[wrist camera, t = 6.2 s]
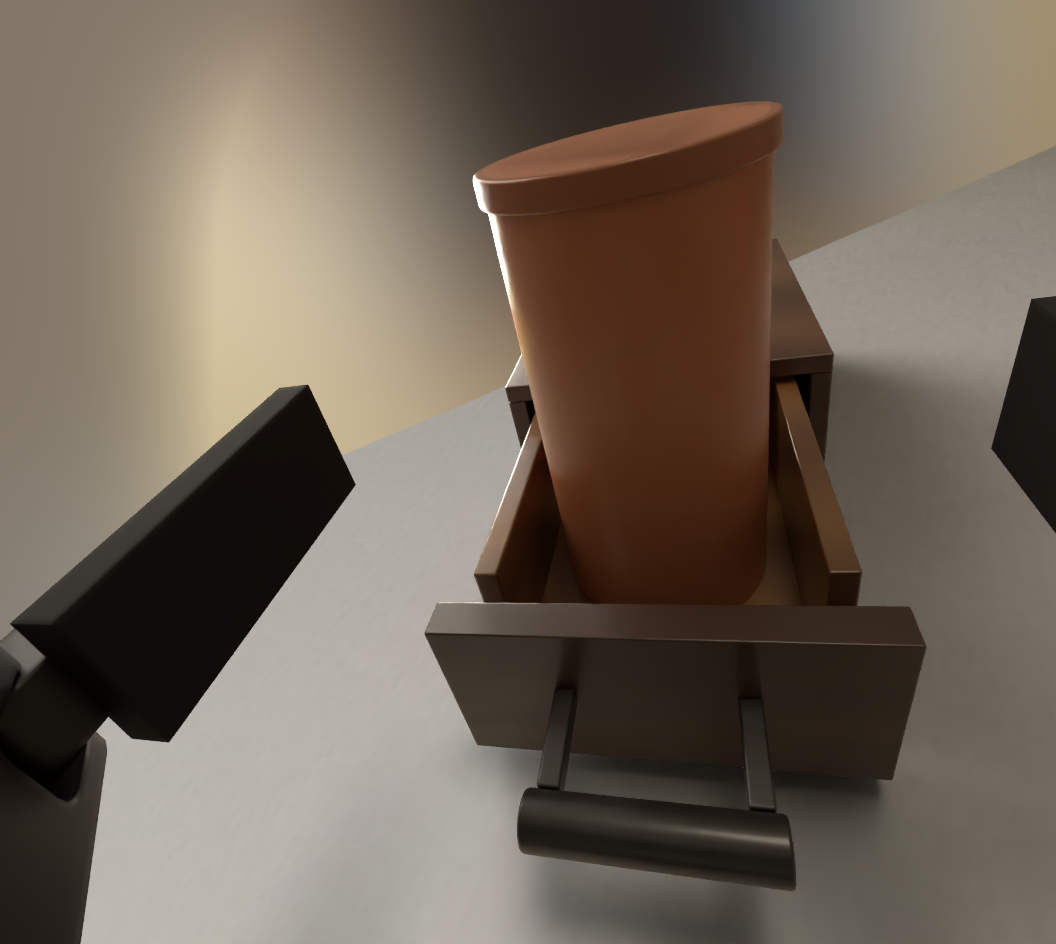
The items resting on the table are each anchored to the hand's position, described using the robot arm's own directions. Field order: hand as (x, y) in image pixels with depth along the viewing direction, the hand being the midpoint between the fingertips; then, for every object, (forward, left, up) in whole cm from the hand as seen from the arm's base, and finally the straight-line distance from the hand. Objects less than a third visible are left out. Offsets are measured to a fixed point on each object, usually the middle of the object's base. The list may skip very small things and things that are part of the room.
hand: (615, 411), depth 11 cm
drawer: (-2, +5, -12) cm, 13 cm away
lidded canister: (-3, +7, -11) cm, 14 cm away
